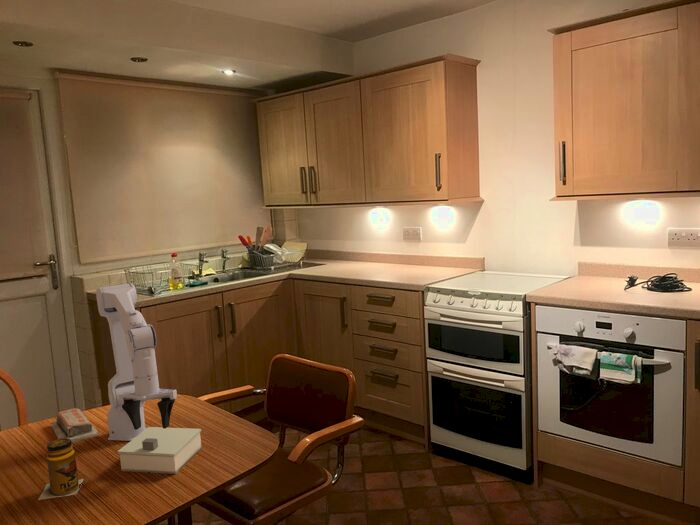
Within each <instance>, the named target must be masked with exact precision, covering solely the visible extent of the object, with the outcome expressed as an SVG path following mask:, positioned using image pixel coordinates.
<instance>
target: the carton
mask: <svg viewBox="0 0 700 525" xmlns="http://www.w3.org/2000/svg"><path fill="white" fill-rule="evenodd" d="M201 449H202V440H201V432H200V433H199V434H198V435H197V436H196V437H195V438H193V439H192V440H191V441H190V442H189V443H188V444H187V445H186V446H185V447H184V448H183V449H182V450H181V451H180V452H179V453H178V454H176V455H175V456H156V455H136V454H119V460H120V468H121V471H122V472H130V471H131V472H132V473H133V472H134V473H135V472H136V473H148V472H150V473H149V474H152V473H153V474H165V475H166V474H168V475H169V474H170V475H177V473H178V472H180V470H182V469H183V468H184V467H185V466H186V464H188V462H189V461H191V459H192V458H193V457H195V456H196V454H197V453H198V452H200V450H201Z"/></svg>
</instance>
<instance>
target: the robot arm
mask: <svg viewBox="0 0 700 525" xmlns="http://www.w3.org/2000/svg"><path fill="white" fill-rule="evenodd" d="M95 295H96V302H97V303H96V304H97V310H98V313H99V316H101V317H104V318H106V319H107V322H108V325H109V327H108V328H109V331H110V333H109V334H110V337H111V345H112V351H113V358H114V363H115V364H114V365H115V371H116V374H114V376H113V377H112V378H111V379H110V380H109V381H108V383H107V389H108V391H107V392H108V393H107V394H108V400H109V405H110V408H109V410H108V413H107V427H108V435H109V437H108V438H107V440H109V441H124V442H125V441H127V442H128V441H129V442H130V441H131V440H133V439H134V438H135V437H137V436H138V435H139V434H140V433H142V432H143V431H144V430H146V429H147V428H148V427H146V422H145V421H146V420H145V413H144V412H145V411H144V410H145V409H144V405H145V402H147V401H149V400H150V401H151V400H152V401H153V400H159V401H158V402H157V403H156V405H157V407H158V410H159V414H160V417H161V426H162V427H163V429H165V428H169V426H170V421H171V414H172V411H173V408H174V404H175V401H176V398H177V397H178V393H177V392H178V391H177V389H169V388H167V389H166V388H160V384H159V382H160V381H159V376H158V375H159V374H158V366H157V359H156V351H155V350H156V348H157V345H158V344H157V334H156V330H155V328H154V326H153V325H152V324H150V323H148V324H147V322H146V319H145V318H144V316H143V314H142V312H140V311H139V310H137V309H135V306H136V303H137V300H138V297H137V288H136V287H135V285H134V284H133V283H132V282H129V283H124V284H123V283H122V284H115V285H109V286H102V287H101V286H98V287H97V289H96V290H95Z"/></svg>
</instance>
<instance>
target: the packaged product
mask: <svg viewBox="0 0 700 525" xmlns="http://www.w3.org/2000/svg"><path fill="white" fill-rule="evenodd" d="M50 426H51V429H53V431H54V434H55V436H56V437H57V438H56V439H61V438H68V439H70V440H71V441H72V443H76V442H79V441H83V440H86V439H89V438H92V437H93V438H94V437H98V436H99V434H100V433H99V431H98V429H96V427H95V426H94V425H93V423H92V422H91V421H90V419H88V417H87V416H86V415H85V414H84V413H83V412H82V410H81V409H80V408H76V407H75V408H74V407H73V408H69V409H64V410H61V411H59V412H57V413H56V421H55V422H54V421H52V422H51V423H50Z"/></svg>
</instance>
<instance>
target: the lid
mask: <svg viewBox="0 0 700 525" xmlns="http://www.w3.org/2000/svg"><path fill="white" fill-rule="evenodd" d="M146 428H147V429H146V430H144V431H143V432H142V433H140V434H139V435H138V436H137V437H135V438H134V439H133V440H131V441H129V442H128V443H126V444H125V445H124V446H122V447H121V448H120V449H119V450H117V454H118V455H120V454H136V455H156V456H175V455H176V454H178V453H179V452H180V451H181V450H182V449H183V448H184V447H185V446H186V445H187V444H188V443H189V442H190V441H191V440H192V439H193V438H195V437H196V436H197V435H198V434H199V433H200V434H201V432H202V428H192V427H191V428H187V427H167V428H165V429H163V426H162V427H160V426H159V427H158V426H148V427H146Z"/></svg>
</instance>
